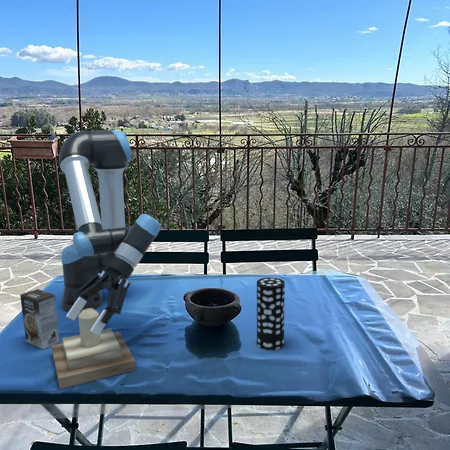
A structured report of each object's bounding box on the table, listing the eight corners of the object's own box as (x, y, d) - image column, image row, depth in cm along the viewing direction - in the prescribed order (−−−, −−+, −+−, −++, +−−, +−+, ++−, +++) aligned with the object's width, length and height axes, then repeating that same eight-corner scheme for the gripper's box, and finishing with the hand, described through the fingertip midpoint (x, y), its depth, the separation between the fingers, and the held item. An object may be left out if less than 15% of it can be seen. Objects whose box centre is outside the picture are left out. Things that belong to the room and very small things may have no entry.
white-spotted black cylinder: (266, 352, 133) (266, 288, 129) (251, 341, 140) (251, 280, 136) (289, 346, 137) (290, 283, 133) (274, 335, 144) (274, 275, 140)
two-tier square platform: (52, 354, 134) (50, 336, 133) (119, 340, 143) (118, 322, 141) (59, 389, 117) (57, 368, 115) (135, 370, 125) (134, 350, 124)
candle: (95, 348, 125) (92, 314, 123) (77, 346, 126) (74, 313, 124) (104, 339, 131) (101, 306, 128) (86, 337, 132) (83, 305, 130)
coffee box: (25, 342, 142) (18, 294, 139) (43, 334, 147) (37, 288, 144) (42, 350, 137) (36, 300, 134) (60, 341, 142) (55, 293, 139)
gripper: (157, 277, 126) (115, 345, 119) (109, 260, 144) (70, 318, 136) (140, 263, 122) (95, 333, 114) (93, 247, 139) (51, 307, 132)
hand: (81, 325), depth 125 cm, fingers open, 13 cm apart
